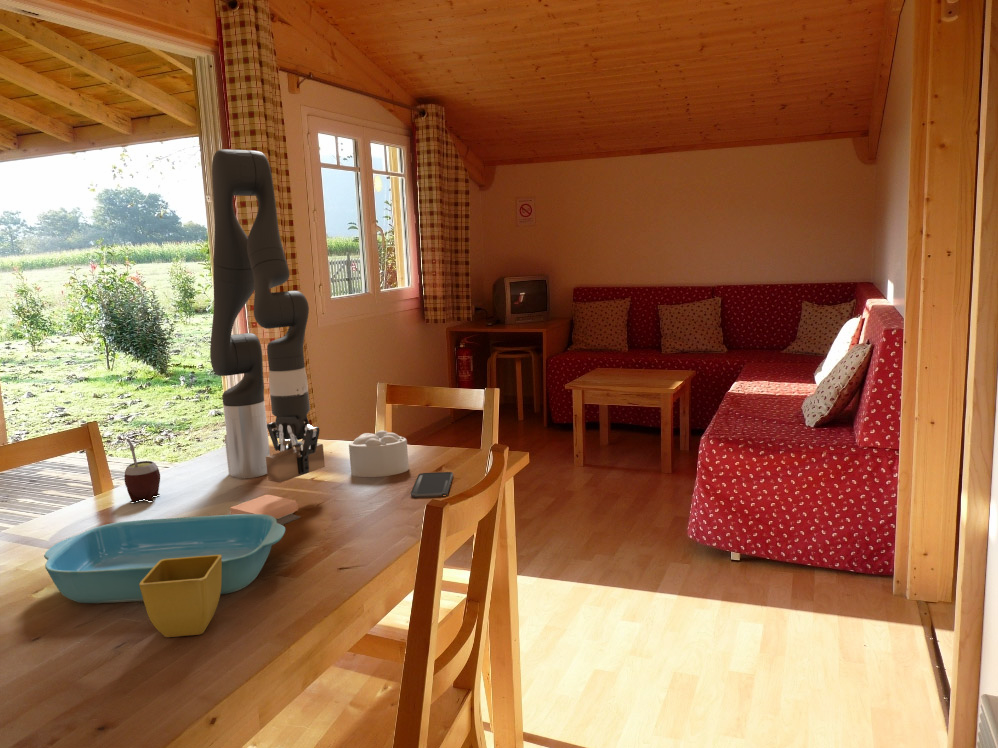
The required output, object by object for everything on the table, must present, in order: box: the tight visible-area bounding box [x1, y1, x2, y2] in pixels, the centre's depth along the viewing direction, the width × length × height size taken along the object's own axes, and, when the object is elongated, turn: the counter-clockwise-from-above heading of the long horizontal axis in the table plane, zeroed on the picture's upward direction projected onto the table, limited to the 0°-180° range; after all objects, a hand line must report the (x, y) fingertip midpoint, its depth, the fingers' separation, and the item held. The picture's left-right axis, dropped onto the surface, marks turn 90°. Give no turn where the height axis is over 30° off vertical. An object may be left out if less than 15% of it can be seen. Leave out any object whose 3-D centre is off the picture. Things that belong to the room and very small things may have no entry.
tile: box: [229, 494, 298, 520], centre depth 153 cm, size 9×2×9 cm
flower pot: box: [139, 555, 222, 638], centre depth 108 cm, size 9×9×9 cm
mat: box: [228, 513, 301, 526], centre depth 153 cm, size 14×8×1 cm, turn 55°
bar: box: [266, 442, 326, 484], centre depth 160 cm, size 4×12×5 cm, turn 145°
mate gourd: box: [124, 438, 161, 502], centre depth 167 cm, size 8×8×15 cm
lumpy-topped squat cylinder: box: [348, 429, 410, 478], centre depth 181 cm, size 10×13×9 cm
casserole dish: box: [43, 514, 286, 604], centre depth 126 cm, size 37×22×7 cm, turn 95°
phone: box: [410, 471, 454, 499], centre depth 168 cm, size 8×1×15 cm
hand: (297, 472), depth 160 cm, fingers closed on bar, 3 cm apart
